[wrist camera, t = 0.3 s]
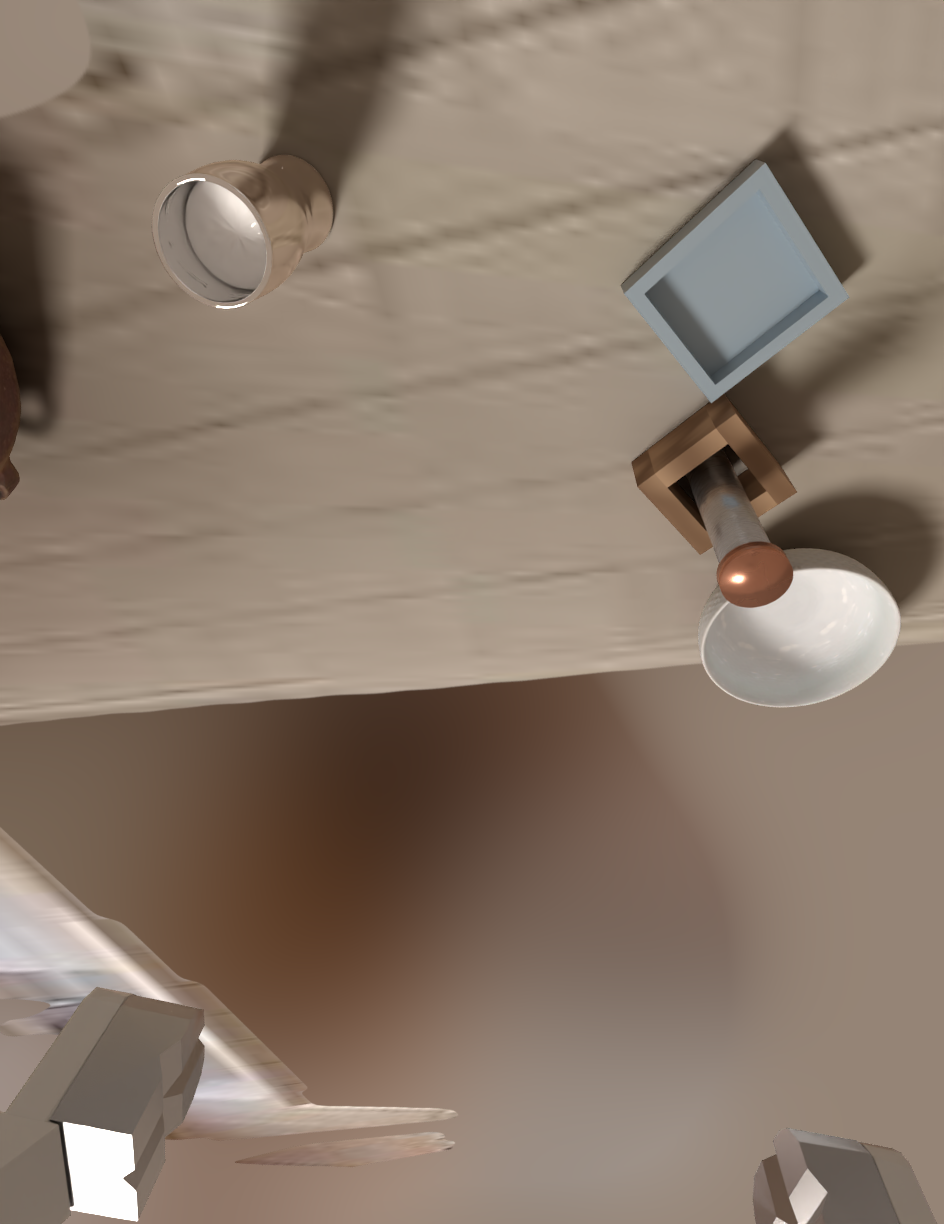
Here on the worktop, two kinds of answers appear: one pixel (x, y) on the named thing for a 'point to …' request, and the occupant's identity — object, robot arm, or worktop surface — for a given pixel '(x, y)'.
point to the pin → (738, 537)
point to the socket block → (694, 447)
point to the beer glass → (240, 227)
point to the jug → (8, 420)
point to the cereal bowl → (802, 634)
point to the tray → (735, 283)
